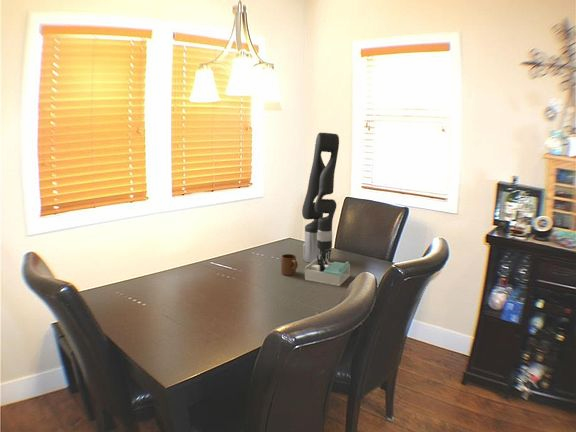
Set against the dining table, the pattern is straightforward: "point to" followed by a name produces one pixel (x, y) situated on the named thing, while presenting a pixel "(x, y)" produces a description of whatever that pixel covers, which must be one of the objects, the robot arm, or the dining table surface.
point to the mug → (288, 264)
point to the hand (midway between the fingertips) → (323, 271)
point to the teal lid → (337, 268)
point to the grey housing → (324, 274)
